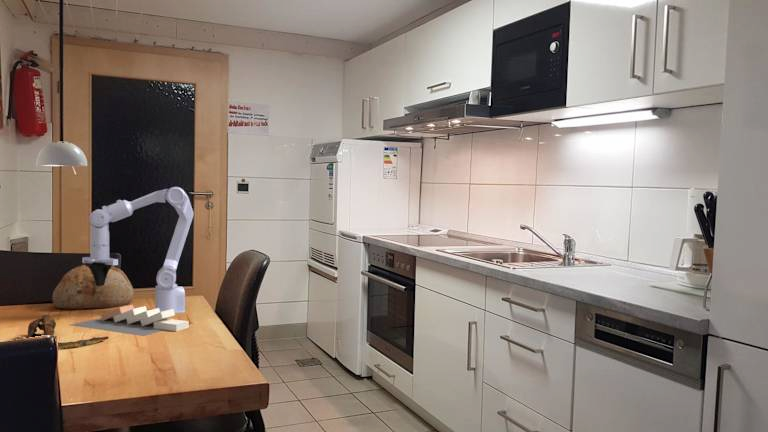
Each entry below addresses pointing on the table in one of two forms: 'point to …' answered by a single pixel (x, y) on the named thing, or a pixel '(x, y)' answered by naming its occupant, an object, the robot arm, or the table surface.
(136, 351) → the table surface
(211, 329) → the table surface
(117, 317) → the domino
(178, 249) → the robot arm
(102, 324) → the mat
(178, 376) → the table surface
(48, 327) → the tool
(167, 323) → the domino
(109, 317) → the domino
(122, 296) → the bread
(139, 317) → the domino
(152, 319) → the domino
